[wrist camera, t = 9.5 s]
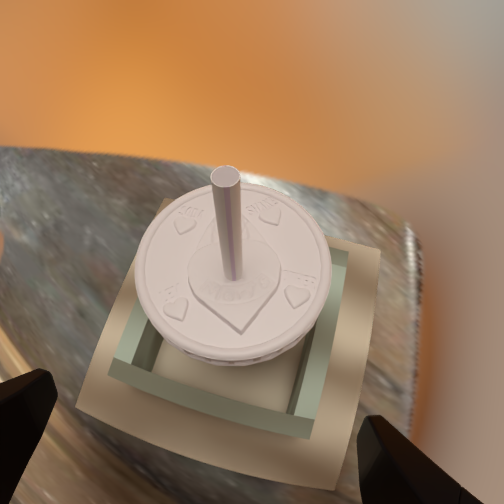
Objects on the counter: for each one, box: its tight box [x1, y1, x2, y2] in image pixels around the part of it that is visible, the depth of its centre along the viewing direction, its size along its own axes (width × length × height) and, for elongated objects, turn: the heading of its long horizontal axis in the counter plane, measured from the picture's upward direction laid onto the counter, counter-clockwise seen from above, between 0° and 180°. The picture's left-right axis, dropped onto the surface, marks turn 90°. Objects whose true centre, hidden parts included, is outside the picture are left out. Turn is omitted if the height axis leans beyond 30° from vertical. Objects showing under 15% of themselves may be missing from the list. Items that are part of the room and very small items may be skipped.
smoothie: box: [135, 166, 332, 366], centre depth 12 cm, size 6×6×14 cm
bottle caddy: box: [75, 198, 381, 491], centre depth 17 cm, size 16×16×4 cm
